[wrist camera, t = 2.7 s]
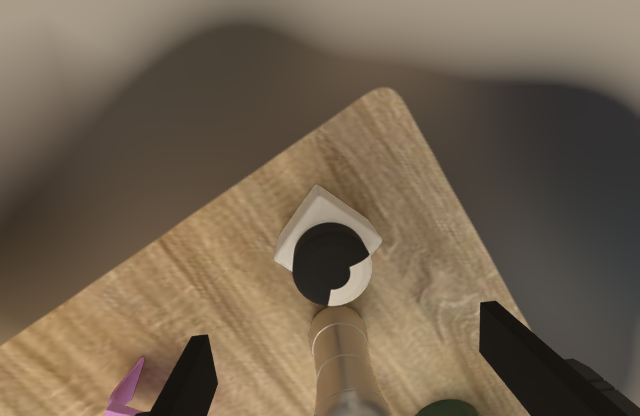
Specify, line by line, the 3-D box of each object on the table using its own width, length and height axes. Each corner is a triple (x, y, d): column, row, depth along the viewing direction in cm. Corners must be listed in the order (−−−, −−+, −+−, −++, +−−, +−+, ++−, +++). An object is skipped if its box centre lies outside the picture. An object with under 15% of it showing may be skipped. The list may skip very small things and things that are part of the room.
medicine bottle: (278, 235, 35) (265, 286, 23) (315, 182, 34) (322, 207, 22) (330, 269, 36) (343, 334, 24) (368, 219, 35) (401, 261, 23)
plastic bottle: (312, 351, 38) (321, 576, 19) (304, 301, 37) (305, 488, 17) (365, 344, 38) (428, 560, 19) (360, 293, 37) (423, 470, 17)
